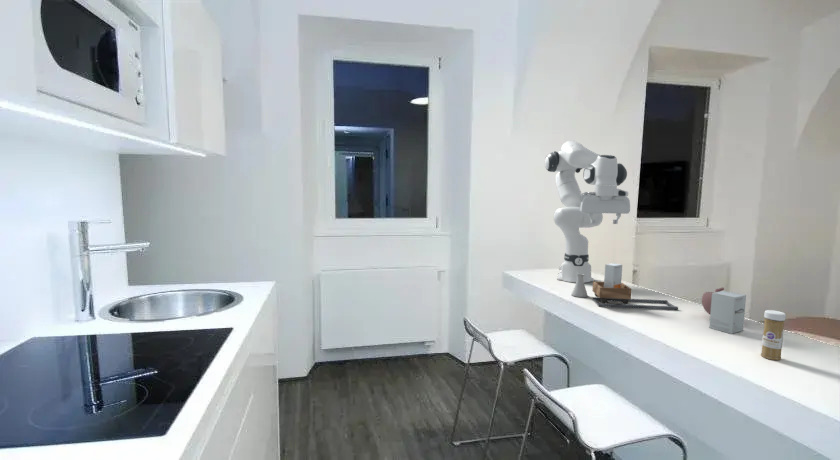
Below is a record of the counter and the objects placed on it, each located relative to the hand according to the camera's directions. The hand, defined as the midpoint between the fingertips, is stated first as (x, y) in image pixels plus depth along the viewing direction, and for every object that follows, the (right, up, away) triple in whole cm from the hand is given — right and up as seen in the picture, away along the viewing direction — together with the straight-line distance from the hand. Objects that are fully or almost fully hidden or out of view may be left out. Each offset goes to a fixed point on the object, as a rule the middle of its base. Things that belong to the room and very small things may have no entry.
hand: (603, 223), depth 186 cm
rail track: (+8, -34, -10) cm, 36 cm away
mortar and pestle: (+31, -36, -28) cm, 55 cm away
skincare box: (0, -29, -9) cm, 31 cm away
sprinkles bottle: (+19, -40, -65) cm, 79 cm away
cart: (-1, -32, -9) cm, 34 cm away
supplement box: (+24, -37, -41) cm, 60 cm away
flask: (-9, -33, +5) cm, 34 cm away
